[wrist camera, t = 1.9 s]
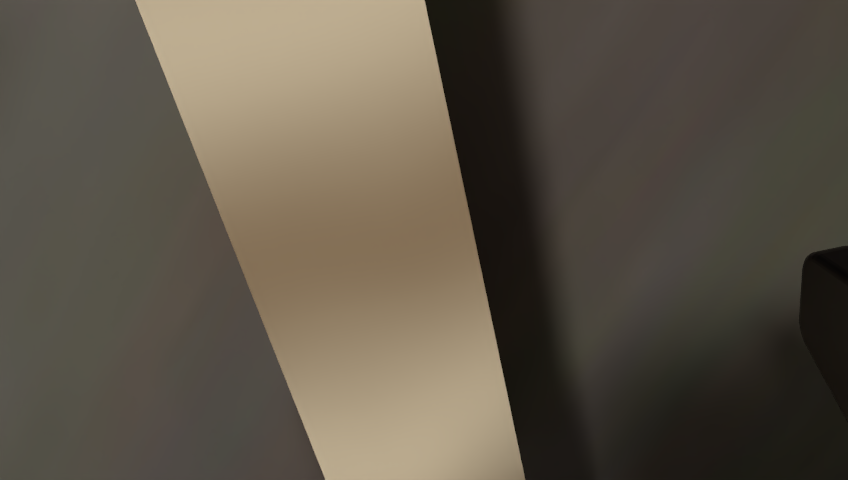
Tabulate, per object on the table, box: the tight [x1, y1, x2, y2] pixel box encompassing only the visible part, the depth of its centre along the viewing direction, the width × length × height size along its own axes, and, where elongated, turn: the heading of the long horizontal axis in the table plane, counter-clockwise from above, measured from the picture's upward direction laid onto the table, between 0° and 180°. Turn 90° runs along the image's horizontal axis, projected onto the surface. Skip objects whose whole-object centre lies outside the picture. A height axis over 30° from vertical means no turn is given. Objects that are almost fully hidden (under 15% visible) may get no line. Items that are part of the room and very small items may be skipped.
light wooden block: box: [135, 0, 525, 480], centre depth 12 cm, size 16×3×4 cm, turn 12°
